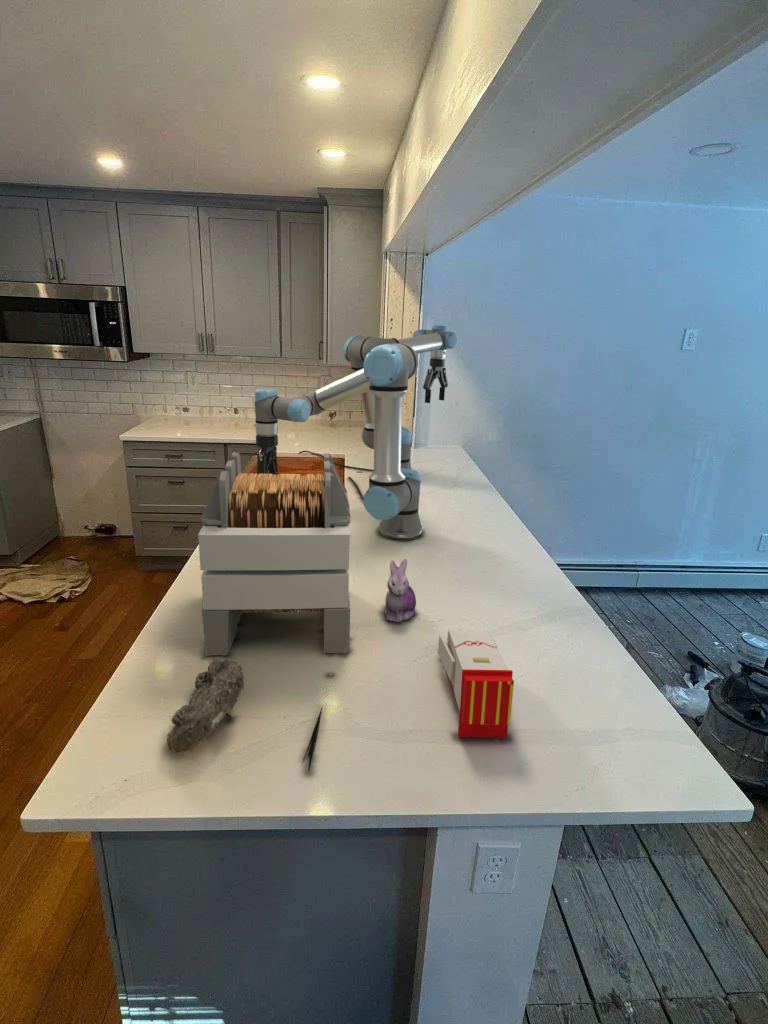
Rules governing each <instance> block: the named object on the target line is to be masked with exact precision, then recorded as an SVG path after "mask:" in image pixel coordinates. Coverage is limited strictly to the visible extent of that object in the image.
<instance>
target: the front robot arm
mask: <svg viewBox="0 0 768 1024" xmlns="http://www.w3.org/2000/svg"><path fill="white" fill-rule="evenodd" d="M418 368H419V356H418V354H416V352H415V350H414V349H413V348H412V347H410V346H409V345H407V344H404V343H396V344H382V345H379V346H377V347H375V348H373V349H372V350H371V351H370V352H369V353H368V354H367V356H366V358H365V360H364V365H363V368H362V369H360V370H358V371H356V372H354V371H353V372H351V373H350V374H347V375H345V376H343V377H341V378H338V379H337V380H334V381H333V382H331V383H328V384H326V385H324V386H322V387H320V388H317V389H316V390H313V391H311V392H308V393H306V394H302V395H298V396H293V397H286V396H285V397H284V396H278V391H277V389H274V388H257V389H256V390H255V391H254V401H253V403H254V413H255V414H254V415H255V416H254V417H255V421H254V422H255V424H254V427H255V434H256V435H255V445H256V446H257V447H259V448H260V452H259V453H258V454H257V455H256V457H257V468H256V469H257V472H256V474H268V473H276V474H278V475H279V467H278V466H279V465H278V454H277V450H278V448H277V446H278V445H279V436H278V433H279V424H278V422H279V421H278V420H282V421H287V422H293V423H305V422H306V421H307V420H308V419H309V418H310V417H312V416H317V415H320V414H321V413H323V412H324V411H326V410H329V409H331V408H333V407H335V406H338V405H339V404H342V403H344V402H347V401H349V400H351V399H353V398H356V397H358V396H361V394H362V393H365V392H367V391H369V390H370V391H371V392H372V393H373V395H374V449H373V470H374V471H372V473H370V474H369V475H368V489H367V490H365V493H364V495H363V494H362V492H361V491H360V489H359V486H358V485H357V483H356V482H355V481H354V480H353V478H352V477H350V476H348V479H349V480H350V481H351V482H352V483H353V485H354V486H355V488H356V490H357V492H358V494H359V496H360V498H361V500H363V501H362V502H363V507H364V508H365V510H366V512H367V513H368V514H369V515H370V516H371V517H373V518H374V519H377V520H380V521H381V522H379V525H378V533H379V534H380V535H381V536H382V537H385V538H387V539H389V540H395V541H410V540H415V539H418V538H420V537H421V536H422V535H423V525H422V524H421V518H420V515H419V507H420V506H419V505H420V496H421V495H420V494H421V493H420V492H421V483H422V480H421V473H420V472H419V471H417V470H415V469H412V470H411V469H405V468H401V432H402V427H403V425H402V424H403V397H404V395H405V394H406V393H407V392H408V383H409V379H411V378H412V377H413V376H415V374H416V373H417V371H418Z"/></svg>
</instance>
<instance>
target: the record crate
mask: <svg viewBox="0 0 768 1024" xmlns="http://www.w3.org/2000/svg"><path fill="white" fill-rule="evenodd" d="M323 456H324V458H323V473H322V474H321V473H318V474H316V475H315V474H314V473H306V474H303V475H302V474H301V473H280V474H279V473H278V475H279V476H278V475H277V476H276V475H272V474H270V475H269V474H257V473H244V472H243V473H242V466H241V463H242V462H241V453H240V452H235V451H233V452H231V455H230V457H229V459H227V460H226V463H225V466H224V468H223V470H222V471H220V474H219V475H218V477H217V479H216V482H215V483H214V486H213V489H212V491H211V494H210V495H209V498H208V499H207V502H206V505H205V507H204V509H203V511H202V514H201V517H200V520H201V524H202V527H201V529H200V530H199V532H198V535H197V538H198V550H199V552H198V553H199V563H200V565H199V567H200V571H202V573H201V575H200V580H201V581H200V582H201V594H202V605H203V607H202V609H201V610H202V611H201V617H202V629H203V638H204V639H203V640H204V649H205V650H204V651H205V652H204V655H205V656H206V657H212V656H228V654H229V652H230V650H231V647H232V645H233V643H234V640H235V638H236V635H237V632H238V623H240V620H241V617H242V614H244V613H250V614H251V613H253V614H254V613H257V614H258V613H298V612H301V613H302V612H308V613H309V612H322V614H323V654H344V655H346V654H347V653H349V652H350V639H351V604H350V595H349V594H350V593H349V586H350V585H349V584H350V572H349V571H350V570H349V569H350V549H351V548H350V547H351V545H350V542H351V533H350V532H351V531H350V526H349V525H350V524H351V520H352V516H351V515H352V514H351V509H350V502H349V496H348V490H347V488H346V486H345V484H344V482H343V480H342V478H341V474H340V473H339V471H338V469H337V465H336V464H334V462H335V461H334V460H333V458H332V455H331V454H330V453H326V452H324V453H323Z"/></svg>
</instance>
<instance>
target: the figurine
mask: <svg viewBox="0 0 768 1024" xmlns="http://www.w3.org/2000/svg"><path fill="white" fill-rule="evenodd" d="M407 567H408V559H406V558H404V559H403V560H402V561H401V563H400V565H399V566H398V565H397V563H396V562H395V561H394V560H393V559H391V560H390V561H389V570H390V576H389V578H388V579H387V589H388V591H387V592H386V594H385V595H386V596H385V607H384V615H385V616H386V620H387V621H391V622H395V623H400V622H402V621H406V620H409V619H410V618H411V617H413V616H414V615H415V610H416V606H417V597H416V593H415V591H414V590H413V587H411V586H410V582H409V579H408V577H407V574H406V571H407Z"/></svg>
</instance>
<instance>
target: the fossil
mask: <svg viewBox="0 0 768 1024" xmlns="http://www.w3.org/2000/svg"><path fill="white" fill-rule="evenodd" d="M243 670H244V669H243V667H242V665H240V664H237V662H236V661H235V660H234V659H232V658H231V659H227V658H226V659H224V660H223V661H222V660H217V659H212V660H211V661H210V663H209V665H208V666H207V671H201V672H199V673H198V674H197V675H196V676H195V680H194V684H195V685H194V687H195V689H194V690H193V693H192V694H191V697H190V698H189V700H188V704H184V705H182V706H181V707H180V709H177V710H176V711H175V713H174V715H173V716H172V718H171V723H172V724H173V727H172V730H171V731H170V732H168V734H167V738H166V741H167V742H166V745H167V749H168V750H169V751H173V752H174V753H176V754H178V753H182V752H188V751H189V752H192V751H193V750H195V748H196V747H197V746H199V744H200V743H201V742H203V741H204V740H205V739H206V738H207V737H208V736H209V735H210V734H211V733H212V732H214V730H215V729H217V727H218V726H219V724H220V722H221V721H222V720H223V719H224V718H225V716H226V717H227V719H229V720H233V717H232V715H230V714H229V710H230V709H231V708H234V706H235V704H236V703H237V702H238V699H239V697H240V695H241V693H242V691H243V690H245V689H244V688H245V675H244V671H243Z"/></svg>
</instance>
